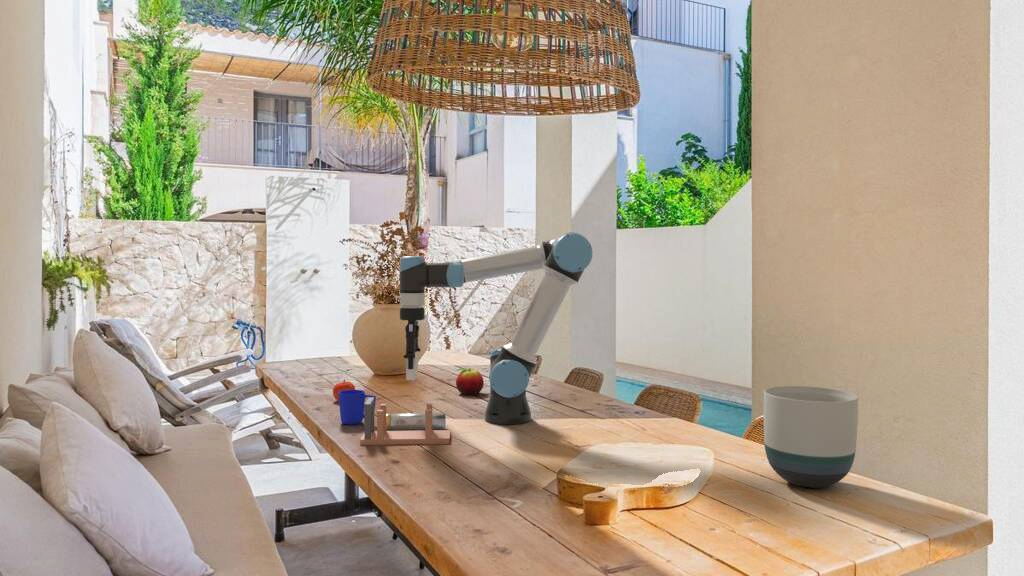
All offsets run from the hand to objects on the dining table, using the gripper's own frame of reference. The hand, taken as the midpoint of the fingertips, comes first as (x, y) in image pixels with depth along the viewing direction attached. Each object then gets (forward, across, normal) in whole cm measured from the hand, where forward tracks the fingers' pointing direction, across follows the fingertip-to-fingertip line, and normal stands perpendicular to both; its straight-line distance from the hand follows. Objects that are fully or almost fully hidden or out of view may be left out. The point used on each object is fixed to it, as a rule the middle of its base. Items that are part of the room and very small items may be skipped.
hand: (412, 376), depth 225 cm
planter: (+17, +60, +96) cm, 114 cm away
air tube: (+16, 0, 0) cm, 16 cm away
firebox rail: (+16, +13, -1) cm, 21 cm away
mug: (+17, -9, -18) cm, 26 cm away
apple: (+17, -46, -28) cm, 56 cm away
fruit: (+17, -58, +18) cm, 63 cm away
